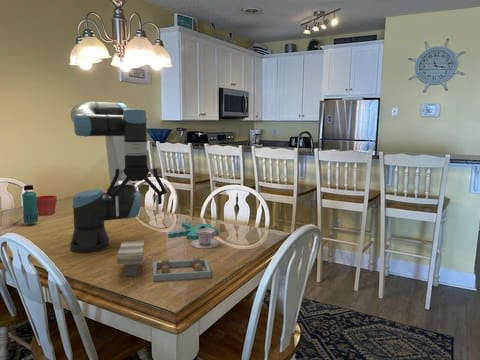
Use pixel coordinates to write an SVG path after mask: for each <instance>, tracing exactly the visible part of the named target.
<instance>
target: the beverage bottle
mask: <svg viewBox="0 0 480 360" xmlns="http://www.w3.org/2000/svg"><path fill="white" fill-rule="evenodd" d="M23 190H24V192H23V193H22V194H21V198H22V212H23V222H24V224H35V223H37V222H39V213H38V209H37V199H36V197H37V193H36V192H35V191H32V190H34V185H32V184H27V185H24V186H23Z"/></svg>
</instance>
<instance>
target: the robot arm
mask: <svg viewBox="0 0 480 360" xmlns="http://www.w3.org/2000/svg"><path fill="white" fill-rule="evenodd" d="M146 113H147V112H146V110H145V109H143V108H129V107H128V106H127V104H125V103H124V102H116V101H114V102H109V101H108V102H107V101H86V102H82V103H79V104H77V105H74V107H72V109H71V111H70V119H71V121H72V122H73V129H74V134H75V135H76V136H77V137H85V138H86V137H104V138H105V145H106V146H105V147H106V154H107V155H106V156H107V165H108V166H107V167H108V174H109V182H110V185H109V186H108V188H107V191H106V192H104V191H103V190H102V189H98V188H97V189H89V190H84V191H80V192H78V193H76V194H74V196H73V197H72V208H73V209H72V210H73V211H72V213H73V233H72V236H71V241H70V250H71V251H72V252H74V253H75V252H76V253H94V252H99V251H102V250H105V249H107V248H109V246H110V244H111V243H110V238H109V235H108V233H107V229H106V228H105V221H113V220H114V221H115V220H123V219H124V220H125V219H126V220H128V219H133V218H137V217H138V216H139V214H140V211H141V203H142V202H141V201H142V199H141V198H142V196H141V191H140V190H137V189H136V186H135V185H134V184H133V183H132V182H142V181H144V182H145V183H146V184H148V186H149V187H150V188H151V189H152V190H153V191H154V192H155V193H156V194H155V214H156V215H159V213H160V211H159V205H162V203H163V200H162V197H163V195H164V194H167V192H168V191H167V190H166V187H165V186H164V184H163V182H162V181H161V179H160V176H159V174H158V170H157V168H156V167H152V168H149V166H148V155H147V153H148V141H147V140H148V139H147V138H148V137H147V133H148V131H147V122H148V121H147V120H148V119H147V114H146ZM149 173H150V174H151V175H153V176H154V178H155V180H156V182H157V184H158V185H159V187H160V189H161V190H160V189H159V188H157V186H156V185H155V183H153V181H152V180H151V179H149V177H147V176H148V174H149Z"/></svg>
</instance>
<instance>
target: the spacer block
mask: <svg viewBox="0 0 480 360" xmlns="http://www.w3.org/2000/svg"><path fill="white" fill-rule="evenodd" d="M123 266H124V277H136V276H138V271H139V267H140V264H125V265H123Z"/></svg>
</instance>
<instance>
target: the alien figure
mask: <svg viewBox="0 0 480 360" xmlns="http://www.w3.org/2000/svg"><path fill="white" fill-rule="evenodd" d="M181 227H182V228H184V229H186V230H181V231H178V230H177V231H176V230H175V231H174V232H171V231H170V232H168V233H167V237H168V238H170V239H171V238H174V237H177V238H179V237H180V236H183V237H184V236H186V240H193V241H195V240H198V239H199V237H198V235H197V234H196V232H195V230H197V229H202V228H209V229H214V230H215V231H216V232H215V233H216V234H215V236H216V235H217V234H218V233H219V229H218V228H215V227H214V226H212V225H209V223H199V224H198V225H197V226H194V225H192V224H191V223H188V222H185V221H183V222H182V223H181ZM213 236H214V233H213V234H212V236H211V237H213Z"/></svg>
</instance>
